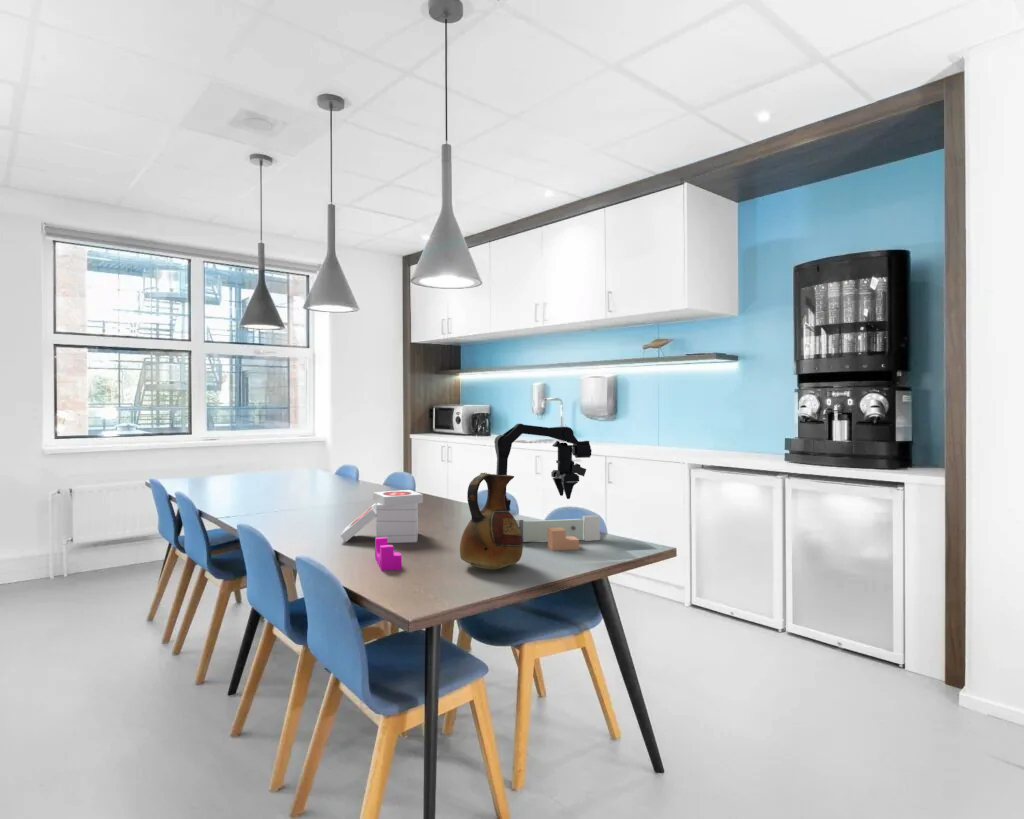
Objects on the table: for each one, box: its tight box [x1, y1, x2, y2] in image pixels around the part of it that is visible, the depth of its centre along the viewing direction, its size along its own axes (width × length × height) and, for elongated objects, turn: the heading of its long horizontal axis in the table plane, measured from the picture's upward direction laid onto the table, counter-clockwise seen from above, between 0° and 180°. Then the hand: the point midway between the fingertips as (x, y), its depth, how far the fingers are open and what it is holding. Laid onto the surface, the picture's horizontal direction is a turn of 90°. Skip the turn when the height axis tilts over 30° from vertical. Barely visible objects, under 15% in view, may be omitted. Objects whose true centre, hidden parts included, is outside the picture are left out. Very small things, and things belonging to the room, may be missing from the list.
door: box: [519, 518, 583, 543], centre depth 232 cm, size 25×3×8 cm, turn 102°
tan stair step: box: [547, 527, 580, 551], centre depth 222 cm, size 10×6×7 cm, turn 102°
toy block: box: [374, 537, 403, 572], centre depth 199 cm, size 15×6×8 cm, turn 20°
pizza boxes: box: [339, 489, 424, 544], centre depth 234 cm, size 19×30×18 cm, turn 98°
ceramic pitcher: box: [459, 472, 524, 571], centre depth 196 cm, size 20×20×30 cm
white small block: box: [514, 514, 601, 542], centre depth 233 cm, size 33×3×9 cm, turn 102°
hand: (564, 497), depth 245 cm, fingers open, 9 cm apart
